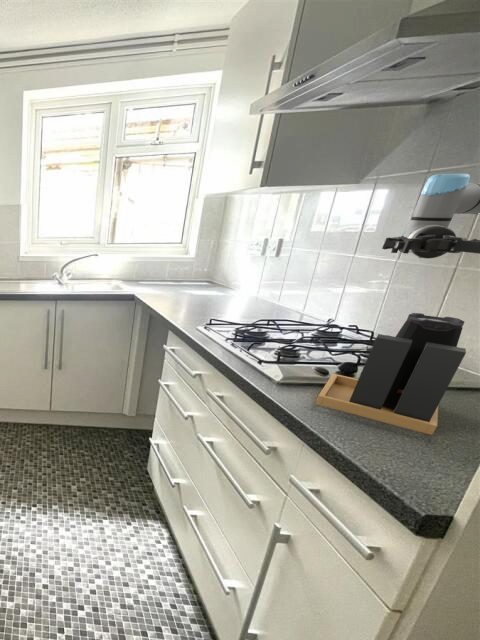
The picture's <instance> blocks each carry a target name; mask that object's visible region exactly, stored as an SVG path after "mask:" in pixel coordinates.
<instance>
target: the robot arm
mask: <svg viewBox="0 0 480 640" xmlns="http://www.w3.org/2000/svg"><path fill="white" fill-rule="evenodd" d="M470 179H471V175H470V174H469V173H438V174H432V175H431V176H430V177H428V178H427V180H426V182H425V185H424V187H423V189H422V190H421V192H420V196H419V197H418V201H417V202H416V205H415V207H414V211H413V213H412V215H411V218H410V220H409V222H408V225H407V227H406V229H405V230H404V231H403V232H402V234H401V236H394V237H385V239H384V242H383V244H382V246H381V249H382V250H390V253H391V254H398V251H399V252H401V254H409V253H410V254H413V255H414V256H416V257H417V258H418V259H436V258H439V257H442V256H444V255H446V254H447V253H449V254H460V253H469V254H478V255H479V254H480V239H477V238H472V239H468V238H467V237H459V236H457V234H456V233H455V231H454V230H453V229H451V228H450V227H449V225H450V224H451V221H452V219H453V217H454V215H460V214H462V215H464V214H465V215H467V214H468V215H479V214H478V213H480V182H470Z"/></svg>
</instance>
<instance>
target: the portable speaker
mask: <svg viewBox="0 0 480 640" xmlns="http://www.w3.org/2000/svg"><path fill="white" fill-rule="evenodd" d="M464 324H465V320H462V319H461V318H458V317H453V316H444V317H443V316H442V317H441V316H435V315H426V314H424V313H421V312H412V313H409V314H408V316H407V318H406V320H405V322H404V323H403V324H402V326H401V327H400V329H399V330H398V332H397V333H396V335H395V337H399V338H405V339H411V340H412V344H411V346H410V348H409V350H408V352H407V354H406V357H405V359H404V361H403V363H402V365H401V367H400V369H399V372H398V374H397V376H396V378H395V380H394V382H393V384H392V387H391V389H390V391H389V393H388V395H387V397H386V399H385V401H384V404H385V405H389V406H392V407H396V406H397V404H398V402H399V399H400V397H401V395H402V393H403V391H404V389H405V387H406V385H407V383H408V381H409V379H410V377H411V375H412V373H413V370H414V368H415V366H416V364H417V362H418V360H419V358H420V356H421V354H422V352H423V350H424V348H425V346H426V344H427V342H429V343H435V344H441V345H447V346H453V347H458V344H459V341H460V337H461V335H462V331H463V326H464ZM384 404H383V405H384Z"/></svg>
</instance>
